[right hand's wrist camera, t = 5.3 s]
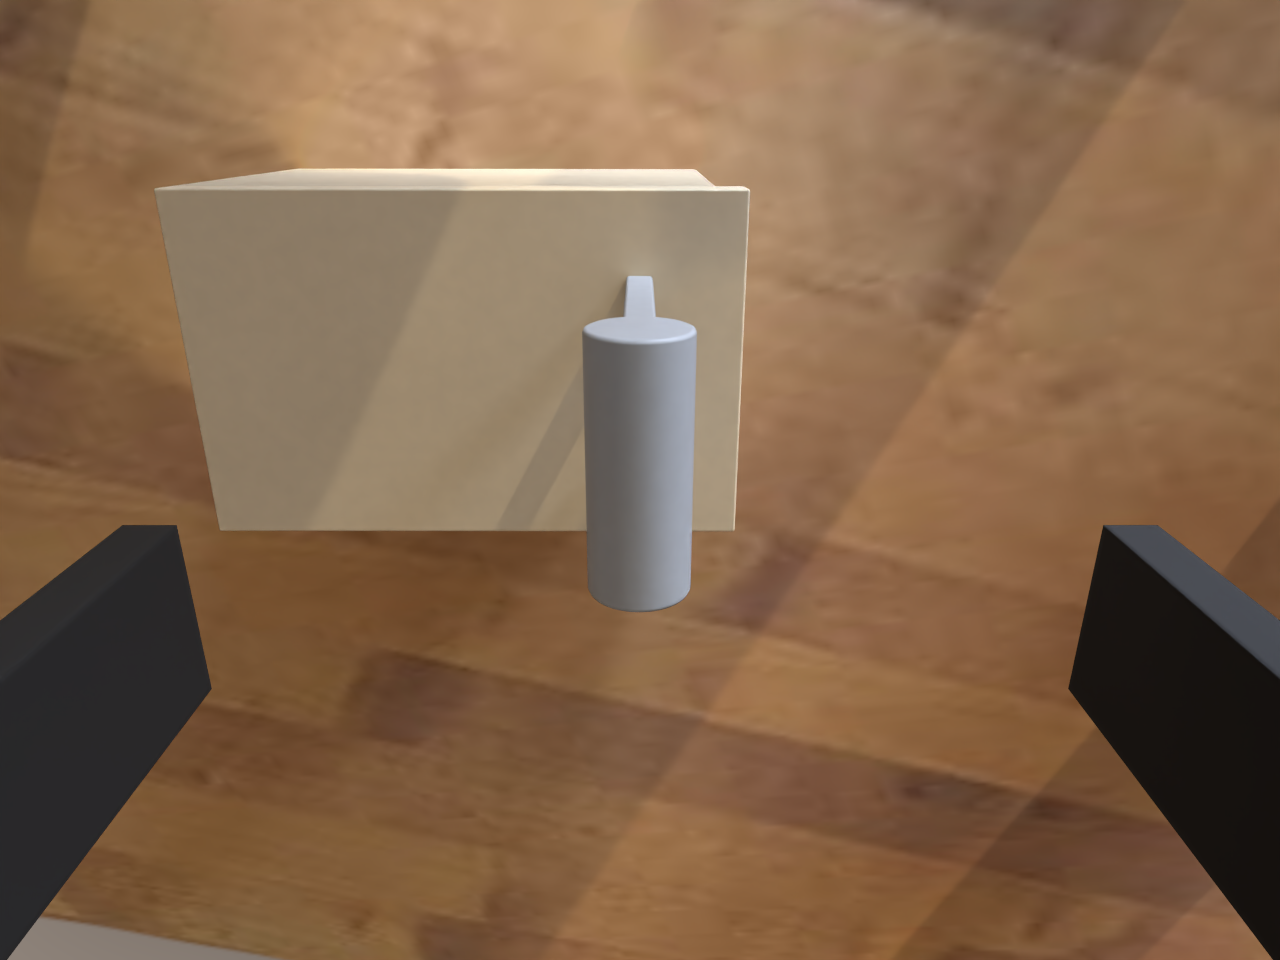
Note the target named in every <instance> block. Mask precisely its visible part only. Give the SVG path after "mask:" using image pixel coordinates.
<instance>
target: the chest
mask: <svg viewBox="0 0 1280 960" xmlns="http://www.w3.org/2000/svg"><path fill="white" fill-rule="evenodd" d="M178 186H714V185H713V184H712V183H711V182H709V181H708V180H707V179H706V178H705V177H703V176H702V175H701V174H700V173H699V172H698V171H696V170H694V169H293V170H285V171H278V172H270V173H263V174H256V175H249V176H241V177H234V178H227V179H219V180H212V181H205V182H197V183H190V184H183V185H178Z"/></svg>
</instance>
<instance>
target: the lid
mask: <svg viewBox="0 0 1280 960" xmlns="http://www.w3.org/2000/svg"><path fill="white" fill-rule="evenodd" d="M154 192H155V197H156V203H157V208H158V213H159V218H160V223H161V229H162V234H163V239H164V244H165V249H166V254H167V260H168V265H169V270H170V275H171V280H172V286H173V291H174V296H175V301H176V306H177V311H178V317H179V322H180V327H181V332H182V337H183V343H184V348H185V353H186V358H187V363H188V368H189V374H190V379H191V384H192V389H193V394H194V400H195V405H196V410H197V415H198V420H199V425H200V431H201V436H202V441H203V446H204V451H205V457H206V462H207V467H208V472H209V477H210V482H211V488H212V493H213V498H214V503H215V508H216V514H217V519H218V524H219V529H220V530H221V531H587V567H588V589H589V591H590V593H591V595H592V596H593V598H594V599H595V600H597V601H598V602H599V603H601V604H603V605H605V606H607V607H610V608H613V609H617V610H621V611H628V612H650V611H657V610H662V609H666V608H668V607H671V606H673V605H676V604H677V603H679V602H680V601H682V600H683V599H684V598H685V597H686V596H687V594H688V592H689V590H690V581H691V542H692V531H734V529H735V508H736V486H737V464H738V442H739V420H740V398H741V376H742V354H743V332H744V310H745V288H746V266H747V244H748V222H749V200H750V191H749V189H747V188H745V187H743V186H168V187H161V188H156V189H154Z"/></svg>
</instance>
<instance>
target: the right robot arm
mask: <svg viewBox="0 0 1280 960" xmlns="http://www.w3.org/2000/svg"><path fill="white" fill-rule="evenodd" d="M211 689H212V688H211V684H210V679H209V674H208V670H207V665H206V660H205V656H204V651H203V646H202V642H201V637H200V632H199V628H198V623H197V618H196V614H195V609H194V604H193V600H192V595H191V590H190V586H189V581H188V576H187V572H186V567H185V562H184V558H183V553H182V548H181V544H180V539H179V534H178V530H177V525H122V526H121V527H120V528H118V529H117V530H116V531H115V532H113V533H112V534H111V535H109V536H108V537H107V538H106V539H104V540H103V541H102V542H100V543H99V544H98V545H97V546H95V547H94V548H93V549H91V550H90V551H89V552H88V553H86V554H85V555H84V556H82V557H81V558H80V559H79V560H77V561H76V562H75V563H74V564H72V565H71V566H70V567H68V568H67V569H66V570H65V571H63V572H62V573H61V574H59V575H58V576H57V577H56V578H54V579H53V580H52V581H50V582H49V583H48V584H47V585H45V586H44V587H43V588H41V589H40V590H39V591H38V592H36V593H35V594H34V595H32V596H31V597H30V598H29V599H27V600H26V601H25V602H23V603H22V604H21V605H20V606H18V607H17V608H16V609H14V610H13V611H12V612H11V613H9V614H8V615H7V616H6V617H4V618H3V619H2V620H0V960H7V959H8V958H9V956H10V955H11V954H12V952H13V951H14V950H15V948H16V947H17V946H18V944H19V943H20V942H21V940H22V939H23V938H24V936H25V935H26V934H27V932H28V931H29V930H30V929H31V927H32V926H33V925H34V923H35V922H36V921H37V919H38V918H39V917H40V915H41V914H42V913H43V911H44V910H45V909H46V907H47V906H48V905H49V903H50V902H51V901H52V899H53V898H54V897H55V895H56V894H57V893H58V891H59V890H60V889H61V887H62V886H63V885H64V884H65V882H66V881H67V880H68V878H69V877H70V876H71V874H72V873H73V872H74V870H75V869H76V868H77V866H78V865H79V864H80V862H81V861H82V860H83V858H84V857H85V856H86V854H87V853H88V852H89V850H90V849H91V848H92V846H93V845H94V844H95V842H96V841H97V840H98V839H99V837H100V836H101V835H102V833H103V832H104V831H105V829H106V828H107V827H108V825H109V824H110V823H111V821H112V820H113V819H114V817H115V816H116V815H117V813H118V812H119V811H120V809H121V808H122V807H123V805H124V804H125V803H126V801H127V800H128V799H129V797H130V796H131V795H132V794H133V792H134V791H135V790H136V788H137V787H138V786H139V784H140V783H141V782H142V780H143V779H144V778H145V776H146V775H147V774H148V772H149V771H150V770H151V768H152V767H153V766H154V764H155V763H156V762H157V760H158V759H159V758H160V756H161V755H162V754H163V752H164V751H165V750H166V749H167V747H168V746H169V745H170V743H171V742H172V741H173V739H174V738H175V737H176V735H177V734H178V733H179V731H180V730H181V729H182V727H183V726H184V725H185V723H186V722H187V721H188V719H189V718H190V717H191V715H192V714H193V713H194V711H195V710H196V709H197V708H198V706H199V705H200V704H201V702H202V701H203V700H204V698H205V697H206V696H207V694H208V693H209V692H210V690H211ZM1068 689H1069V690H1070V692H1071V693H1072V694H1073V696H1074V697H1075V698H1076V700H1077V701H1078V702H1079V704H1080V705H1081V706H1082V708H1083V709H1084V710H1085V711H1086V713H1087V714H1088V715H1089V717H1090V718H1091V719H1092V721H1093V722H1094V723H1095V725H1096V726H1097V727H1098V729H1099V730H1100V731H1101V733H1102V734H1103V735H1104V737H1105V738H1106V739H1107V741H1108V742H1109V743H1110V745H1111V746H1112V747H1113V749H1114V750H1115V751H1116V753H1117V754H1118V755H1119V756H1120V758H1121V759H1122V760H1123V762H1124V763H1125V764H1126V766H1127V767H1128V768H1129V770H1130V771H1131V772H1132V774H1133V775H1134V776H1135V778H1136V779H1137V780H1138V782H1139V783H1140V784H1141V786H1142V787H1143V788H1144V790H1145V791H1146V792H1147V794H1148V795H1149V796H1150V798H1151V799H1152V800H1153V801H1154V803H1155V804H1156V805H1157V807H1158V808H1159V809H1160V811H1161V812H1162V813H1163V815H1164V816H1165V817H1166V819H1167V820H1168V821H1169V823H1170V824H1171V825H1172V827H1173V828H1174V829H1175V831H1176V832H1177V833H1178V835H1179V836H1180V837H1181V839H1182V840H1183V841H1184V843H1185V844H1186V845H1187V846H1188V848H1189V849H1190V850H1191V852H1192V853H1193V854H1194V856H1195V857H1196V858H1197V860H1198V861H1199V862H1200V864H1201V865H1202V866H1203V868H1204V869H1205V870H1206V872H1207V873H1208V874H1209V876H1210V877H1211V878H1212V880H1213V881H1214V882H1215V884H1216V885H1217V886H1218V887H1219V889H1220V890H1221V891H1222V893H1223V894H1224V895H1225V897H1226V898H1227V899H1228V901H1229V902H1230V903H1231V905H1232V906H1233V907H1234V909H1235V910H1236V911H1237V913H1238V914H1239V915H1240V917H1241V918H1242V919H1243V921H1244V922H1245V923H1246V925H1247V926H1248V927H1249V929H1250V930H1251V931H1252V932H1253V934H1254V935H1255V936H1256V938H1257V939H1258V940H1259V942H1260V943H1261V944H1262V946H1263V947H1264V948H1265V950H1266V951H1267V952H1268V954H1269V955H1270V956H1271V958H1272V959H1273V960H1280V620H1278V619H1277V618H1276V617H1274V616H1273V615H1272V614H1271V613H1269V612H1268V611H1267V610H1266V609H1264V608H1263V607H1262V606H1260V605H1259V604H1258V603H1257V602H1255V601H1254V600H1253V599H1251V598H1250V597H1249V596H1248V595H1246V594H1245V593H1244V592H1242V591H1241V590H1240V589H1239V588H1237V587H1236V586H1235V585H1233V584H1232V583H1231V582H1230V581H1228V580H1227V579H1226V578H1224V577H1223V576H1222V575H1221V574H1219V573H1218V572H1217V571H1215V570H1214V569H1213V568H1212V567H1210V566H1209V565H1208V564H1206V563H1205V562H1204V561H1203V560H1201V559H1200V558H1199V557H1198V556H1196V555H1195V554H1194V553H1192V552H1191V551H1190V550H1189V549H1187V548H1186V547H1185V546H1183V545H1182V544H1181V543H1180V542H1178V541H1177V540H1176V539H1174V538H1173V537H1172V536H1171V535H1169V534H1168V533H1167V532H1165V531H1164V530H1163V529H1162V528H1160V527H1159V526H1158V525H1103V530H1102V534H1101V539H1100V544H1099V548H1098V553H1097V558H1096V562H1095V567H1094V572H1093V576H1092V581H1091V586H1090V590H1089V595H1088V600H1087V604H1086V609H1085V614H1084V618H1083V623H1082V628H1081V632H1080V637H1079V642H1078V646H1077V651H1076V656H1075V660H1074V665H1073V670H1072V674H1071V679H1070V684H1069V688H1068Z"/></svg>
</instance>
